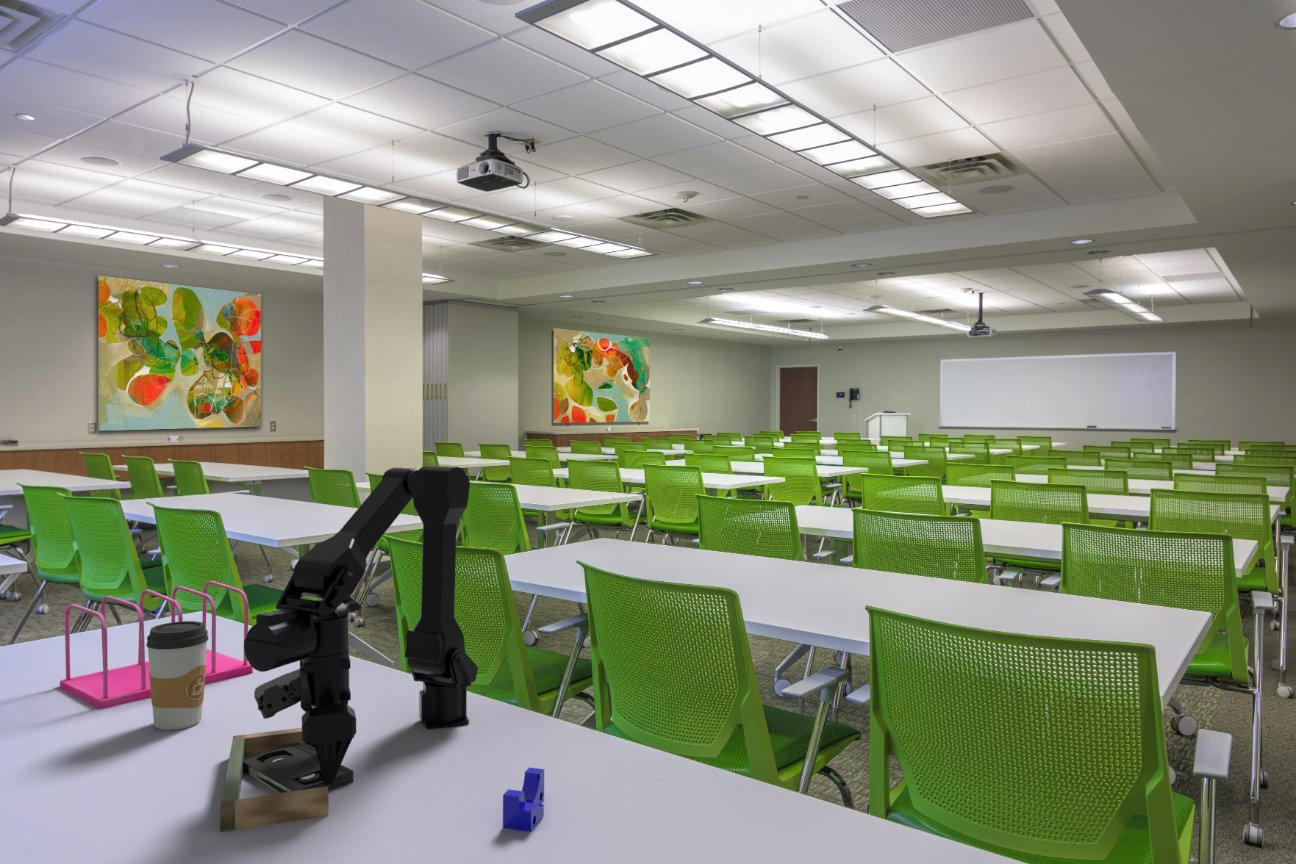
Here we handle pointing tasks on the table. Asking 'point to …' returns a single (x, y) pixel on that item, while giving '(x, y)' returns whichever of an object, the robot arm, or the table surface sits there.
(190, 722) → the coffee cup
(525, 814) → the cable holder
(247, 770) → the vhs tape
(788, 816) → the table surface
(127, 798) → the table surface
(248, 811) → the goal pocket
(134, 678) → the file sorter
